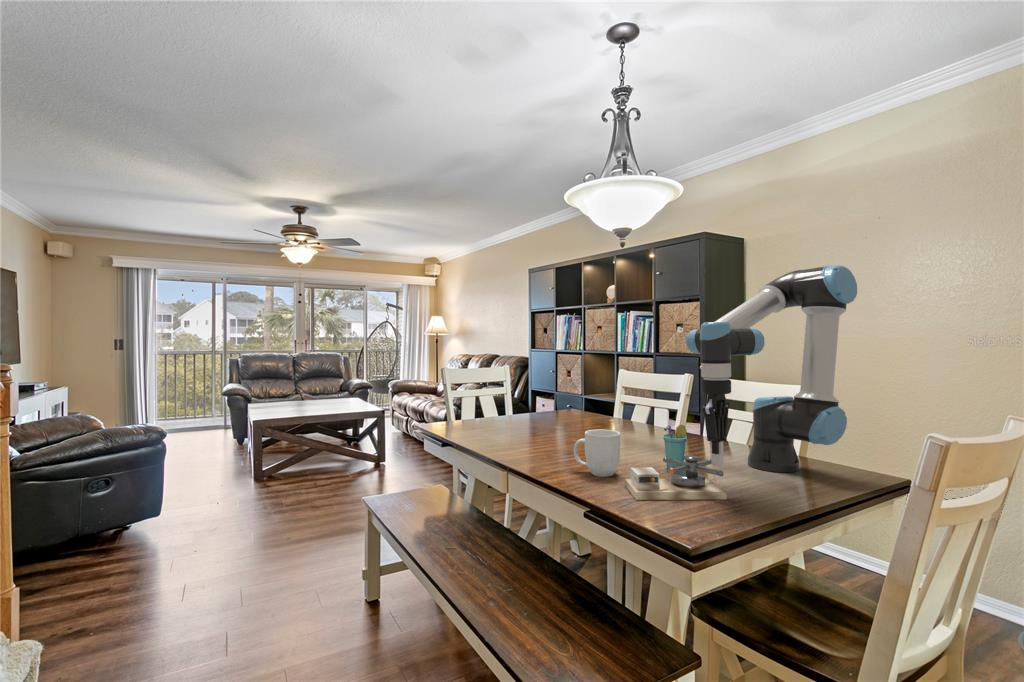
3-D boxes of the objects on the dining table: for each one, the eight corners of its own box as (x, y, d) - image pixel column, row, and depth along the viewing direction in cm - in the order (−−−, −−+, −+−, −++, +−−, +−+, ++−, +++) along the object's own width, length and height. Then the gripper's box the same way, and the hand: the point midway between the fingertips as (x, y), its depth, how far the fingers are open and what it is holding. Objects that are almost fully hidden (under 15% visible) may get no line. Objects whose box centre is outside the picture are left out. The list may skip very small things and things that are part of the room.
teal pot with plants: (677, 476, 149) (677, 427, 149) (653, 472, 154) (653, 425, 154) (693, 467, 160) (693, 421, 160) (670, 463, 165) (670, 419, 165)
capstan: (743, 486, 132) (743, 459, 132) (701, 499, 121) (701, 470, 121) (683, 470, 147) (683, 446, 147) (641, 481, 136) (641, 455, 136)
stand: (707, 485, 140) (707, 464, 140) (726, 499, 128) (726, 476, 128) (625, 486, 140) (624, 465, 140) (636, 499, 128) (636, 477, 128)
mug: (568, 474, 152) (568, 432, 152) (579, 466, 162) (579, 427, 161) (615, 481, 145) (615, 437, 145) (624, 471, 155) (624, 430, 155)
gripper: (711, 376, 139) (713, 458, 140) (692, 380, 130) (693, 467, 130) (739, 377, 134) (740, 462, 134) (720, 381, 125) (722, 472, 125)
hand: (717, 464), depth 132 cm, fingers closed
